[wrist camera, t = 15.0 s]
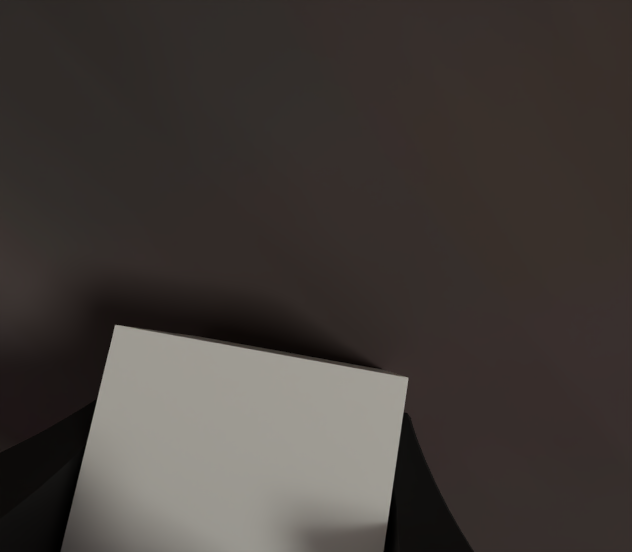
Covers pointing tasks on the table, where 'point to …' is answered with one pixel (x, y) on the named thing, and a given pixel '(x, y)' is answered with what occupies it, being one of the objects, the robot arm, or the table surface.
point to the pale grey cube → (235, 450)
